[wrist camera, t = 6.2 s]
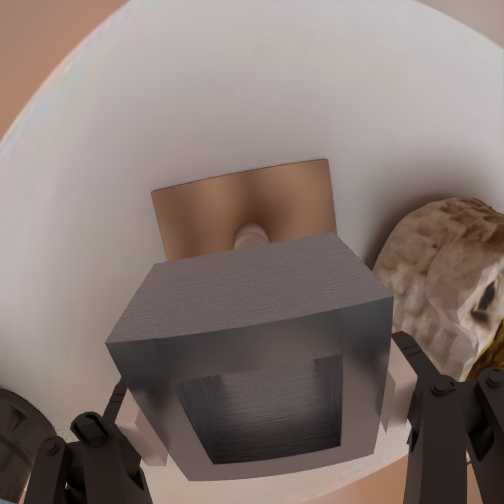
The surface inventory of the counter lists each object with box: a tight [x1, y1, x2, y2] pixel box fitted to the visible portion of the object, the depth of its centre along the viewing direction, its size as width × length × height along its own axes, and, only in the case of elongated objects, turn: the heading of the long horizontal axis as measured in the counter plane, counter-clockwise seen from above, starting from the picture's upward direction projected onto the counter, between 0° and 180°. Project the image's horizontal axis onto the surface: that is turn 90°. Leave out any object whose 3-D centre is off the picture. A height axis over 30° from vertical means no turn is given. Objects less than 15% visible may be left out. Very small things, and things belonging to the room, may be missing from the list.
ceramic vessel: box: [372, 197, 504, 465], centre depth 21 cm, size 23×24×25 cm
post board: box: [151, 159, 337, 262], centre depth 25 cm, size 16×12×8 cm
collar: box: [105, 232, 394, 481], centre depth 12 cm, size 8×8×6 cm
